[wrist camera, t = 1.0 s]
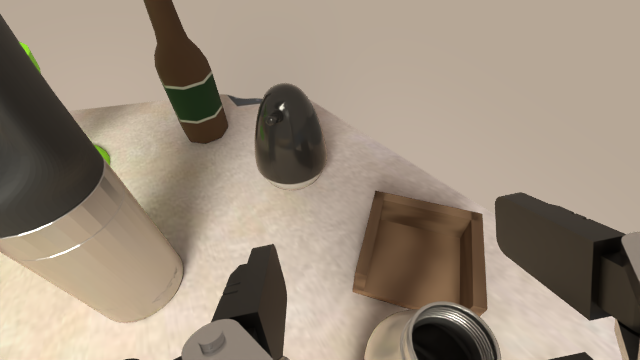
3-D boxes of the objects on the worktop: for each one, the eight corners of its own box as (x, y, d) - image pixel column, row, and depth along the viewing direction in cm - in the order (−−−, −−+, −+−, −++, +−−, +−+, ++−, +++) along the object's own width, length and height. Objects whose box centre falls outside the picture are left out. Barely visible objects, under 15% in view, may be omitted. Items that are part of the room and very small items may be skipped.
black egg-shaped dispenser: (250, 196, 44) (223, 107, 33) (273, 149, 51) (256, 62, 39) (318, 207, 42) (314, 118, 31) (332, 157, 49) (333, 68, 38)
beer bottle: (229, 141, 52) (177, -20, 34) (182, 148, 51) (104, -14, 34) (229, 115, 57) (183, -37, 40) (186, 120, 56) (121, -32, 39)
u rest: (352, 291, 34) (355, 272, 30) (371, 214, 41) (375, 190, 38) (468, 326, 31) (487, 309, 28) (467, 236, 39) (482, 213, 35)
